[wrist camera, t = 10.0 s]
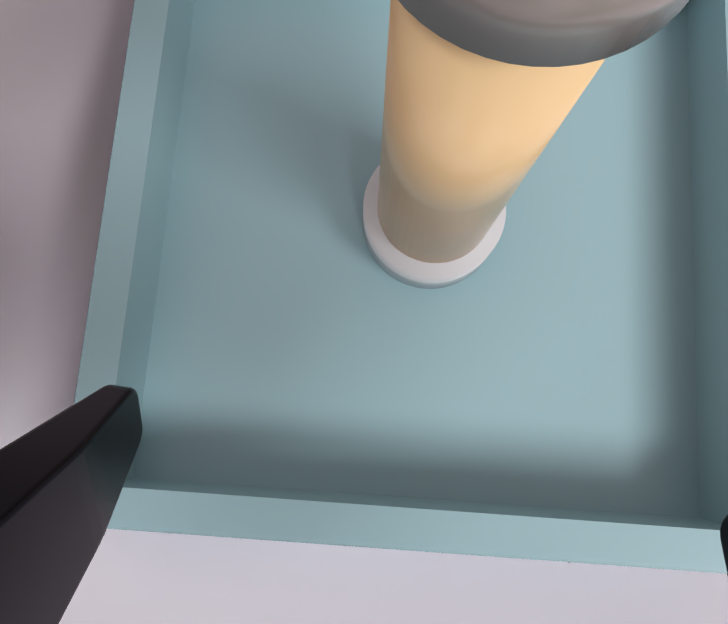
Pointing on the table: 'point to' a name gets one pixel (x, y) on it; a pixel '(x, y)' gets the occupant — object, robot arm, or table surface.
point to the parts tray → (413, 304)
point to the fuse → (479, 117)
